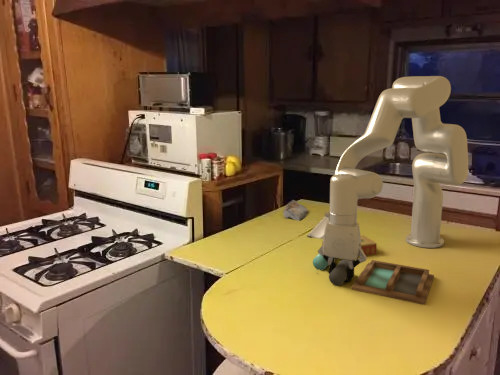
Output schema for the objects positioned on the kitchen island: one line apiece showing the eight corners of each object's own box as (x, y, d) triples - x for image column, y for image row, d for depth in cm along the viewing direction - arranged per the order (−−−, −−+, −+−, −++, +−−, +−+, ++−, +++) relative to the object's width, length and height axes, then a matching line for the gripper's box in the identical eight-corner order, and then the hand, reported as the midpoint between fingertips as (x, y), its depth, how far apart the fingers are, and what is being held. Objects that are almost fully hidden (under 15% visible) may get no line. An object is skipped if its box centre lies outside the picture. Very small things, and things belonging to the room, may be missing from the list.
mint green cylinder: (322, 258, 142) (323, 245, 141) (335, 261, 140) (336, 248, 139) (312, 268, 134) (313, 255, 133) (326, 271, 132) (326, 258, 131)
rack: (368, 265, 135) (368, 258, 135) (433, 277, 126) (434, 269, 126) (351, 289, 120) (351, 281, 119) (424, 304, 111) (425, 296, 110)
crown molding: (328, 215, 189) (329, 207, 188) (356, 218, 184) (356, 210, 183) (307, 238, 162) (307, 229, 161) (339, 242, 157) (339, 233, 156)
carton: (376, 254, 144) (377, 242, 143) (332, 261, 140) (332, 248, 139) (363, 246, 152) (364, 234, 151) (321, 251, 148) (321, 239, 147)
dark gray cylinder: (338, 271, 131) (339, 258, 130) (352, 275, 129) (353, 261, 128) (328, 283, 124) (329, 269, 123) (343, 287, 122) (344, 272, 120)
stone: (304, 216, 180) (282, 207, 182) (300, 226, 181) (278, 217, 184) (312, 204, 195) (291, 196, 197) (308, 214, 197) (288, 206, 199)
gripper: (309, 217, 123) (309, 277, 127) (369, 226, 115) (366, 289, 119) (319, 211, 129) (318, 268, 133) (376, 218, 121) (373, 279, 125)
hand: (341, 277), depth 126 cm, fingers closed on dark gray cylinder, 4 cm apart
